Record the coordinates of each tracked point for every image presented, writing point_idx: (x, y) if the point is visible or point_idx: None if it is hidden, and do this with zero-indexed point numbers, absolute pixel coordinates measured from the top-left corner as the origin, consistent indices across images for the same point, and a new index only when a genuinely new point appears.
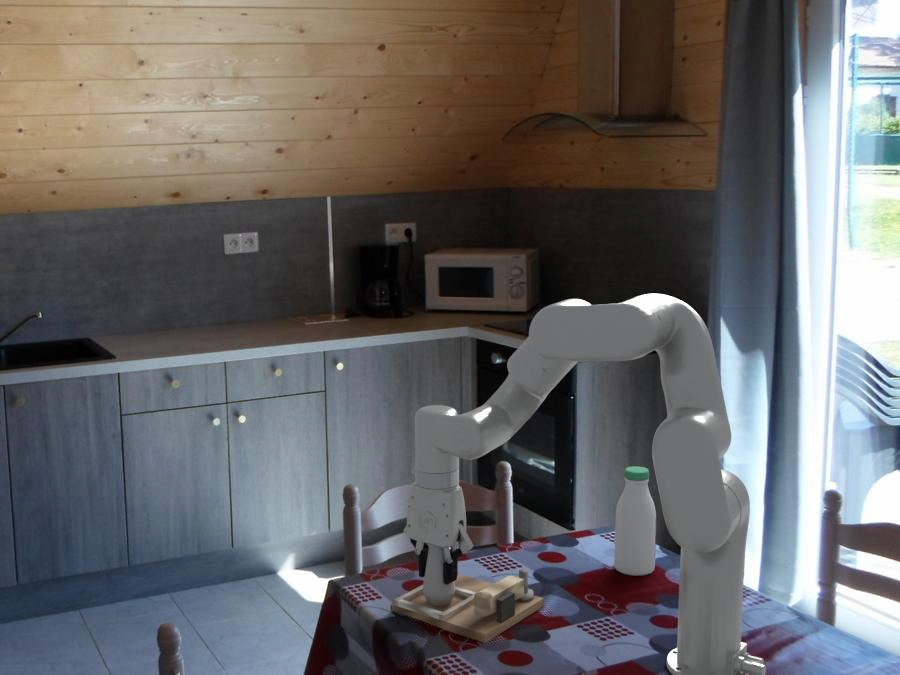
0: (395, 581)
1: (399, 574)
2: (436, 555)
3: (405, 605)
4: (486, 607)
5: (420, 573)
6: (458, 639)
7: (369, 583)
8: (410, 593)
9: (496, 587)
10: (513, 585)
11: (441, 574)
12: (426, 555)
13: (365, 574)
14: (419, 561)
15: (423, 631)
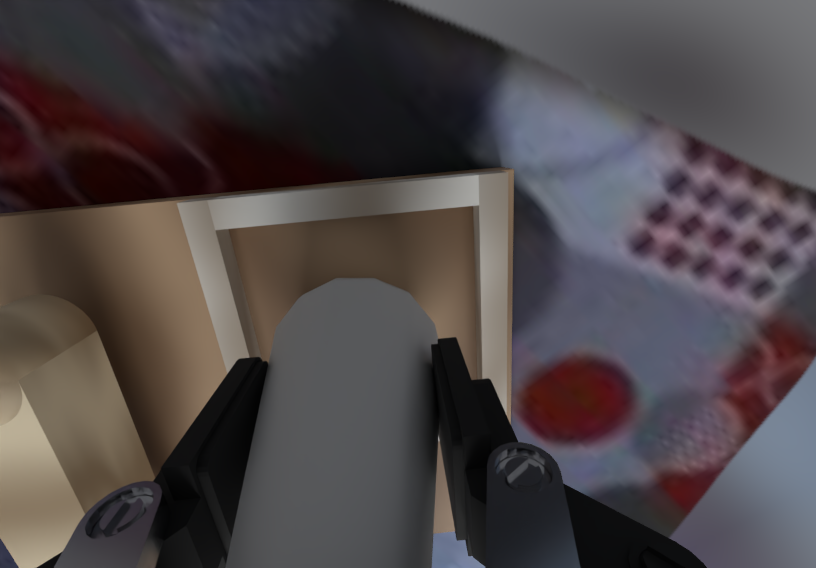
0: (666, 381)
1: (686, 427)
2: (271, 504)
3: (428, 178)
4: None
5: (444, 346)
6: (90, 163)
7: (747, 309)
8: (489, 281)
9: (33, 494)
10: (15, 554)
11: (270, 391)
12: (453, 481)
13: (803, 354)
14: (469, 399)
15: (257, 117)
